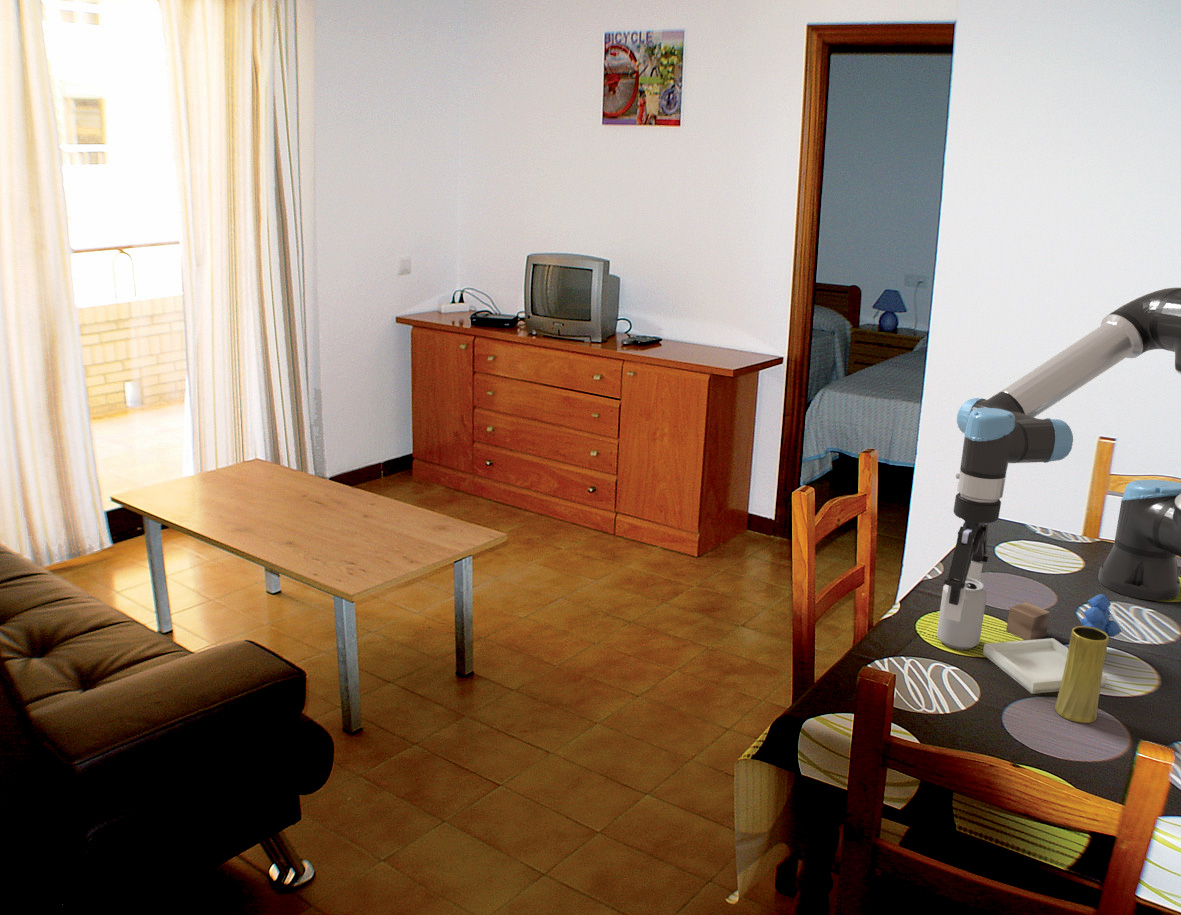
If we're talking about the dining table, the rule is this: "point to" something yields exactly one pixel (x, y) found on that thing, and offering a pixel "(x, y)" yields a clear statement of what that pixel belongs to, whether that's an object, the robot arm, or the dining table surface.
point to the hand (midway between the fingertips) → (961, 606)
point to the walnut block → (1027, 621)
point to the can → (964, 617)
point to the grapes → (1100, 616)
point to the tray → (1032, 663)
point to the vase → (1082, 675)
